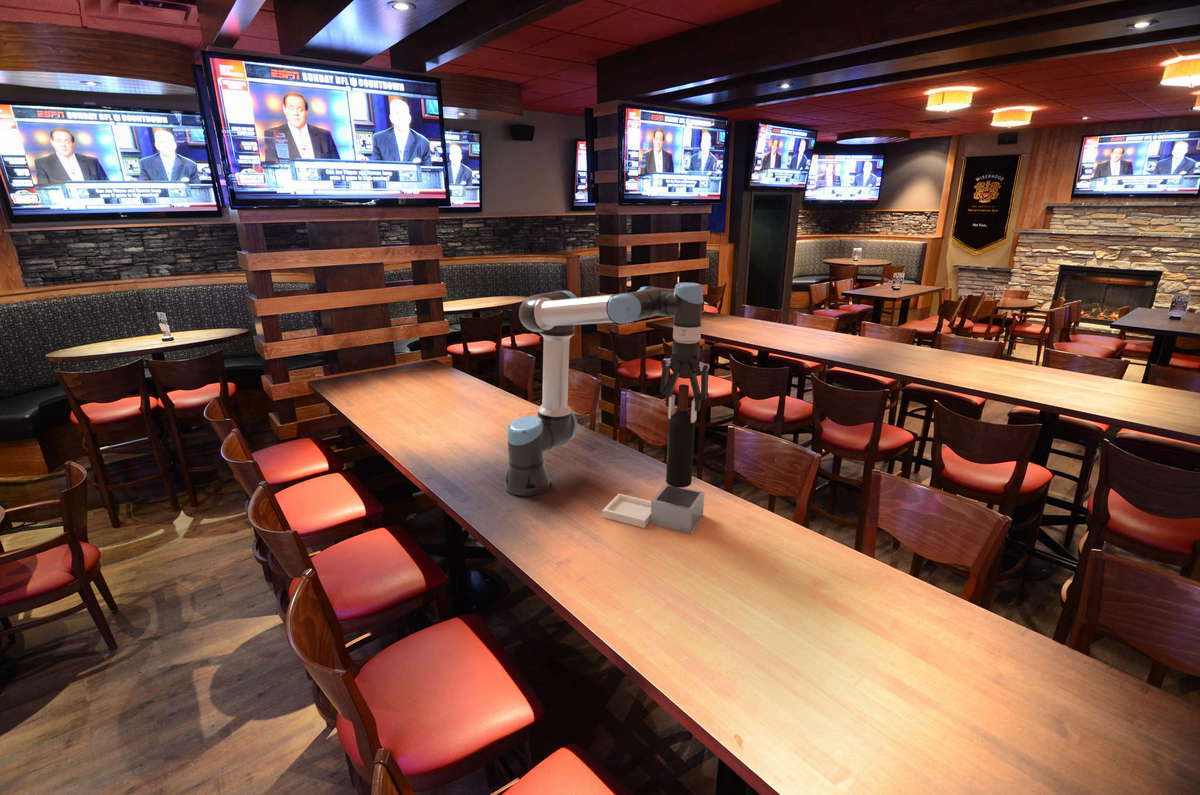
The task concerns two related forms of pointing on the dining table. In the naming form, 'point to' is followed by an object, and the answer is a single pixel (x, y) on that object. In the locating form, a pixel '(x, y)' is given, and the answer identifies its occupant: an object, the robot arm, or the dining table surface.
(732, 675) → the dining table surface
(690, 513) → the holder
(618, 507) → the tray
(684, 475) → the wine bottle
